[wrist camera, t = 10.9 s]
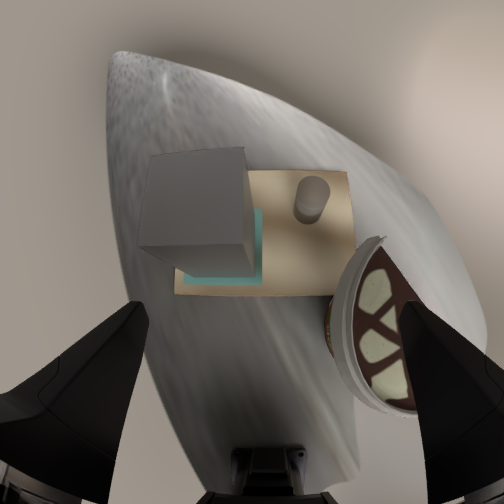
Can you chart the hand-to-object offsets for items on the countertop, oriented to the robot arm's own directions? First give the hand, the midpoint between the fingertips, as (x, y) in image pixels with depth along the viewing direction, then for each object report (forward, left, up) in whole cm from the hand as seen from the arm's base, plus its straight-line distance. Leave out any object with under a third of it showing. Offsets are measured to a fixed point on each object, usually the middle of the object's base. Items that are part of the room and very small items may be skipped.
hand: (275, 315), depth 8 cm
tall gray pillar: (+5, +4, -12) cm, 14 cm away
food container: (-3, -7, -14) cm, 16 cm away
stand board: (+7, +1, -14) cm, 15 cm away
